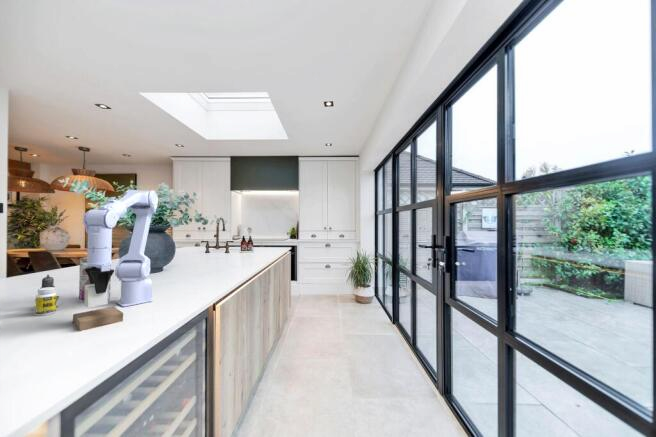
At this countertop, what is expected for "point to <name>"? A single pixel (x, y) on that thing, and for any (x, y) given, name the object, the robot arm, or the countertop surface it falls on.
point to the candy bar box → (86, 279)
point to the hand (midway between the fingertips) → (98, 291)
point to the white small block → (94, 296)
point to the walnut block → (97, 318)
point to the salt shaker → (48, 284)
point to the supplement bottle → (45, 301)
